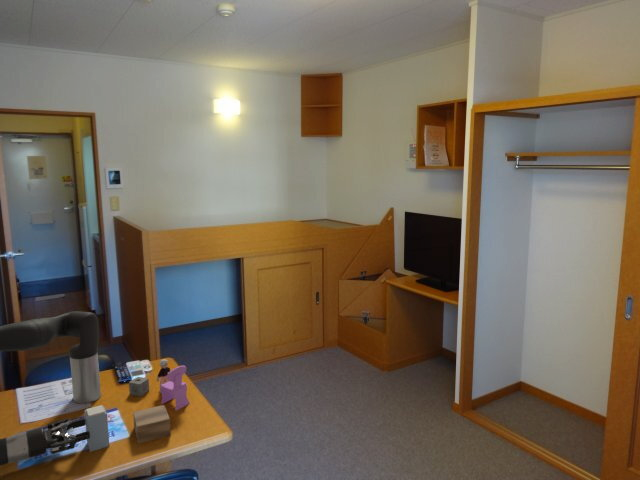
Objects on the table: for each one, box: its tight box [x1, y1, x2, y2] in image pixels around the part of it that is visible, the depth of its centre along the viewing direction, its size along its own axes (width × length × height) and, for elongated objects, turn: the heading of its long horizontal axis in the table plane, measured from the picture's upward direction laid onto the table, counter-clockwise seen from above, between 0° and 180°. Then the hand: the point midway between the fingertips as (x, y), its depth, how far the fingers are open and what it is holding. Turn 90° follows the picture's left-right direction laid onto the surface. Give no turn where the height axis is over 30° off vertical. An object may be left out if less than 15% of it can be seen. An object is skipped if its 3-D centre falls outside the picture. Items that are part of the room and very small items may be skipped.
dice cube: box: [128, 376, 150, 397], centre depth 183 cm, size 5×5×5 cm
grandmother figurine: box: [156, 358, 172, 395], centre depth 184 cm, size 8×4×13 cm, turn 168°
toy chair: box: [159, 365, 190, 411], centre depth 174 cm, size 8×9×15 cm
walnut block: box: [132, 404, 172, 444], centre depth 157 cm, size 10×10×6 cm
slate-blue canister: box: [83, 404, 110, 453], centre depth 149 cm, size 6×6×12 cm
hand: (87, 427), depth 148 cm, fingers open, 8 cm apart
